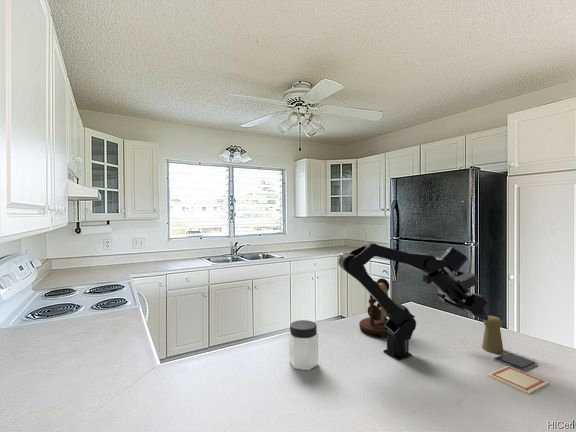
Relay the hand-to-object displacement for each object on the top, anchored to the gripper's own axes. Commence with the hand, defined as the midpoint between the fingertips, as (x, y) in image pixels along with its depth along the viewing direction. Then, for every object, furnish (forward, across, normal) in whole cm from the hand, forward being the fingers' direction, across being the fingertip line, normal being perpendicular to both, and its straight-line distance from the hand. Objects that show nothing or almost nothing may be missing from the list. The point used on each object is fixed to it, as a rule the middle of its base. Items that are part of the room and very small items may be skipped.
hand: (477, 314), depth 102 cm
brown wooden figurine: (-10, +20, +27) cm, 35 cm away
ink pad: (+12, -9, +5) cm, 16 cm away
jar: (-33, -3, +50) cm, 60 cm away
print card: (+7, -18, +10) cm, 22 cm away
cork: (+12, 0, +5) cm, 13 cm away
